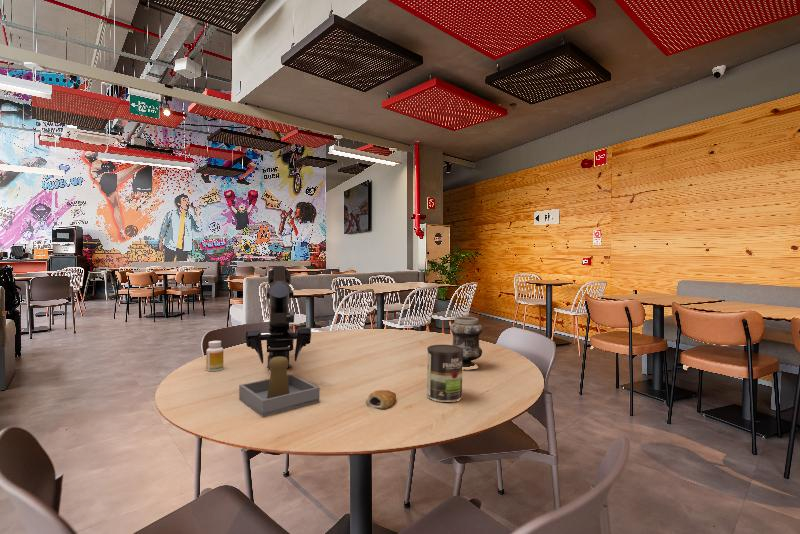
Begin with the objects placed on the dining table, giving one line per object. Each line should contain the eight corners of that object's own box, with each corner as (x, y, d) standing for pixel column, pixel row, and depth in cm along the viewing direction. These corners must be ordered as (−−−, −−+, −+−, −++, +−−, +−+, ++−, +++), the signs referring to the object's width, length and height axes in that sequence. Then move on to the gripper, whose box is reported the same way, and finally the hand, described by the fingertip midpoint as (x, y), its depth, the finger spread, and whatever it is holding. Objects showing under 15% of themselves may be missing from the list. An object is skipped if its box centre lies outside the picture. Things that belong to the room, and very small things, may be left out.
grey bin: (292, 387, 123) (292, 374, 123) (319, 402, 112) (319, 387, 111) (239, 399, 113) (239, 384, 113) (262, 417, 101) (262, 401, 101)
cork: (290, 399, 111) (291, 359, 110) (267, 401, 108) (268, 360, 108) (288, 392, 116) (289, 353, 116) (266, 394, 114) (266, 355, 114)
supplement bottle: (226, 368, 142) (226, 341, 142) (214, 372, 137) (214, 344, 137) (215, 366, 144) (215, 339, 144) (202, 370, 140) (202, 342, 139)
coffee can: (469, 399, 115) (470, 350, 115) (439, 405, 110) (439, 354, 110) (449, 388, 124) (449, 342, 124) (419, 393, 119) (420, 346, 119)
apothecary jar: (486, 365, 150) (487, 317, 150) (474, 373, 140) (475, 321, 139) (457, 360, 157) (457, 314, 156) (443, 367, 147) (443, 318, 146)
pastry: (381, 396, 117) (381, 383, 117) (402, 400, 114) (402, 387, 114) (363, 406, 109) (364, 392, 109) (385, 412, 106) (385, 397, 106)
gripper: (246, 302, 119) (243, 348, 109) (310, 301, 125) (313, 345, 115) (248, 324, 127) (245, 369, 117) (309, 322, 133) (311, 365, 122)
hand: (279, 361), depth 118 cm, fingers open, 9 cm apart
